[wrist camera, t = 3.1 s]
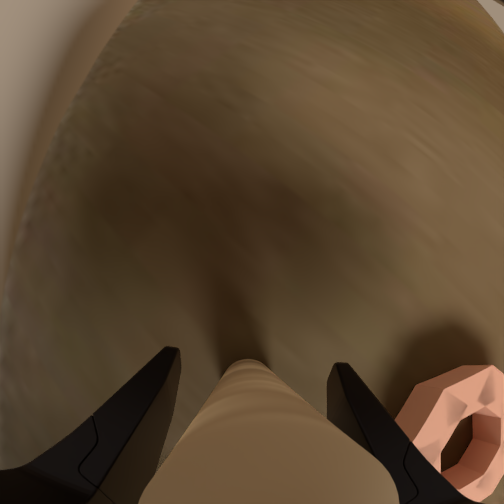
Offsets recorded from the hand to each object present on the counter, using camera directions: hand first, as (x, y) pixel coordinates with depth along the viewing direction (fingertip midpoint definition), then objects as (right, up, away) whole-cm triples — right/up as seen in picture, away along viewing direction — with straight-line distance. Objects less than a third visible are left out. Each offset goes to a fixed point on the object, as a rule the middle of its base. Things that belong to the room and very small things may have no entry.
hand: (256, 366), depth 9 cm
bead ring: (+12, -8, +5) cm, 15 cm away
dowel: (0, -3, +6) cm, 7 cm away
